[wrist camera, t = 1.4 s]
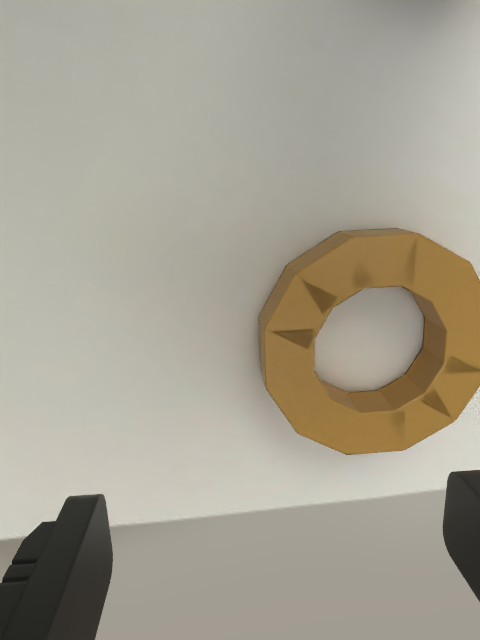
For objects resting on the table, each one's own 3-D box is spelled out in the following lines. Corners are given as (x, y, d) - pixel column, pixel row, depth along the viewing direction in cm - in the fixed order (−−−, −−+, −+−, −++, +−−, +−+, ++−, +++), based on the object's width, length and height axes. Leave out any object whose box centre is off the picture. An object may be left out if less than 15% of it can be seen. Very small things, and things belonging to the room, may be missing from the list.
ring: (255, 236, 22) (260, 242, 20) (477, 223, 23) (507, 227, 21) (263, 436, 26) (268, 461, 23) (457, 422, 26) (481, 445, 24)
